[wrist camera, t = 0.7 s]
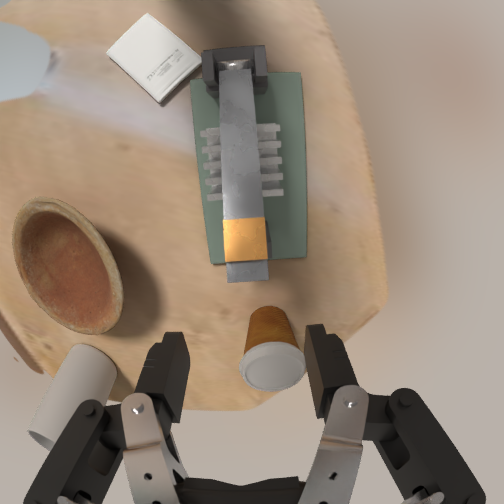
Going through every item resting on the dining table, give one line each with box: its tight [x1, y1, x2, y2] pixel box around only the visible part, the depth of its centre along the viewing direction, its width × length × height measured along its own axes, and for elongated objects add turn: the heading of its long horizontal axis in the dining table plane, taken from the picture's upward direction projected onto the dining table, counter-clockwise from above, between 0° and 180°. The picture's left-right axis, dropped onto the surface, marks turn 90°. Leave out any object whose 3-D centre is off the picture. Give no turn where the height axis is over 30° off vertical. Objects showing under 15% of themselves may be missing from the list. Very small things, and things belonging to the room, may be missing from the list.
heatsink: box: [200, 123, 284, 201], centre depth 31 cm, size 8×8×8 cm
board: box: [190, 72, 307, 264], centre depth 35 cm, size 26×14×1 cm, turn 4°
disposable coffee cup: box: [239, 306, 306, 392], centre depth 41 cm, size 10×10×12 cm
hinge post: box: [201, 45, 268, 98], centre depth 25 cm, size 5×6×11 cm
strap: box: [215, 59, 269, 283], centre depth 21 cm, size 21×4×2 cm
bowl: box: [12, 197, 124, 335], centre depth 36 cm, size 24×24×8 cm
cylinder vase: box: [27, 344, 117, 451], centre depth 40 cm, size 12×12×25 cm
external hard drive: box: [106, 13, 202, 103], centre depth 28 cm, size 2×8×12 cm
